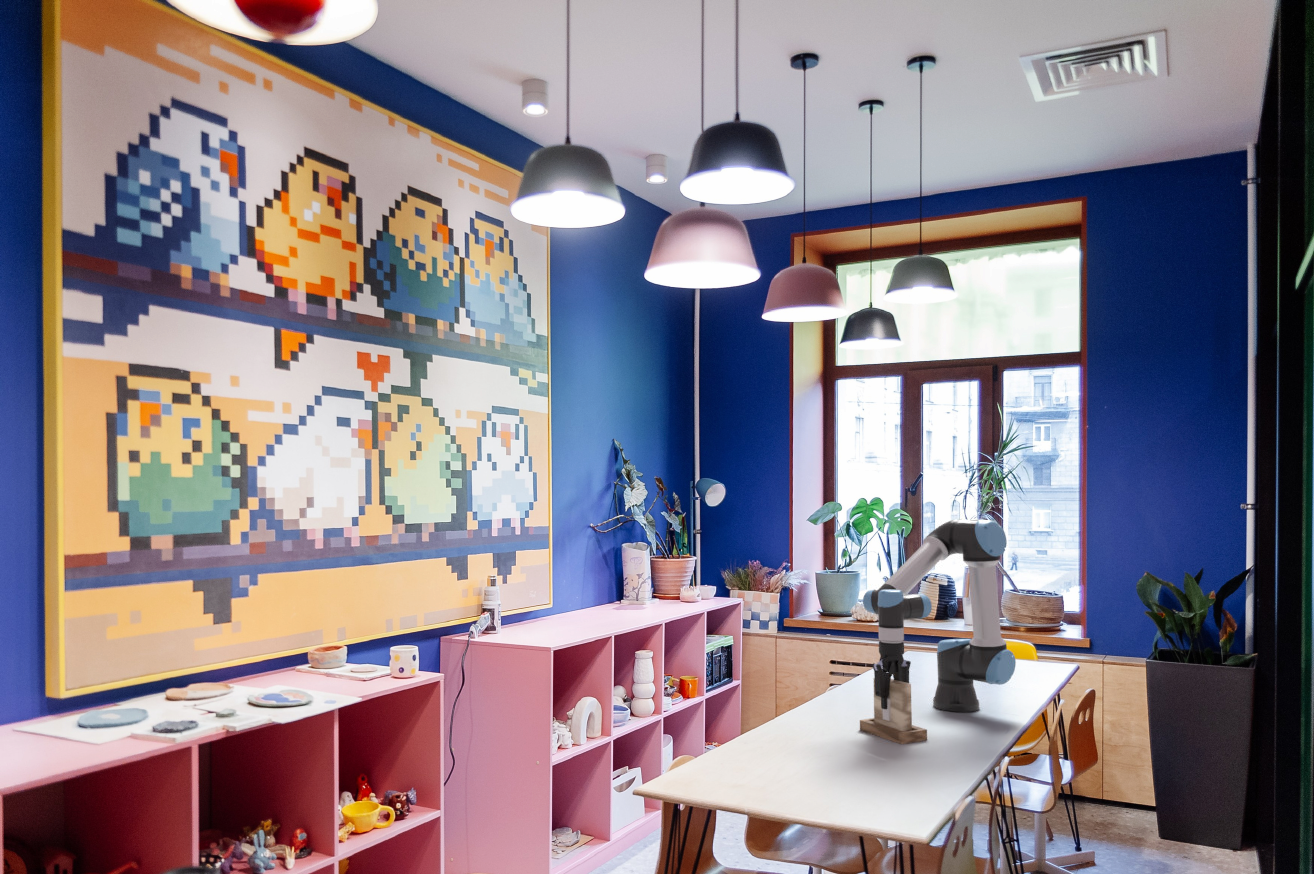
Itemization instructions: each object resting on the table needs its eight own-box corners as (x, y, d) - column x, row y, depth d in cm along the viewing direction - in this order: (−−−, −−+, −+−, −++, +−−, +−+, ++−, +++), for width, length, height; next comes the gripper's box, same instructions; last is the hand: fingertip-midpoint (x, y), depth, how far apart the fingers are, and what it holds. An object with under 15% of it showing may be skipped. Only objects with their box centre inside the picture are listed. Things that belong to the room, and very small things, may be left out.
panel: (884, 722, 284) (883, 676, 284) (912, 731, 273) (911, 683, 274) (874, 724, 282) (873, 678, 282) (901, 732, 271) (900, 685, 272)
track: (884, 726, 288) (884, 716, 288) (927, 739, 271) (927, 729, 272) (859, 729, 283) (859, 720, 283) (901, 744, 267) (901, 733, 267)
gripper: (903, 637, 286) (905, 713, 285) (861, 641, 278) (862, 719, 277) (921, 640, 280) (922, 718, 278) (878, 644, 272) (879, 724, 270)
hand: (892, 718), depth 277 cm, fingers closed on panel, 4 cm apart
